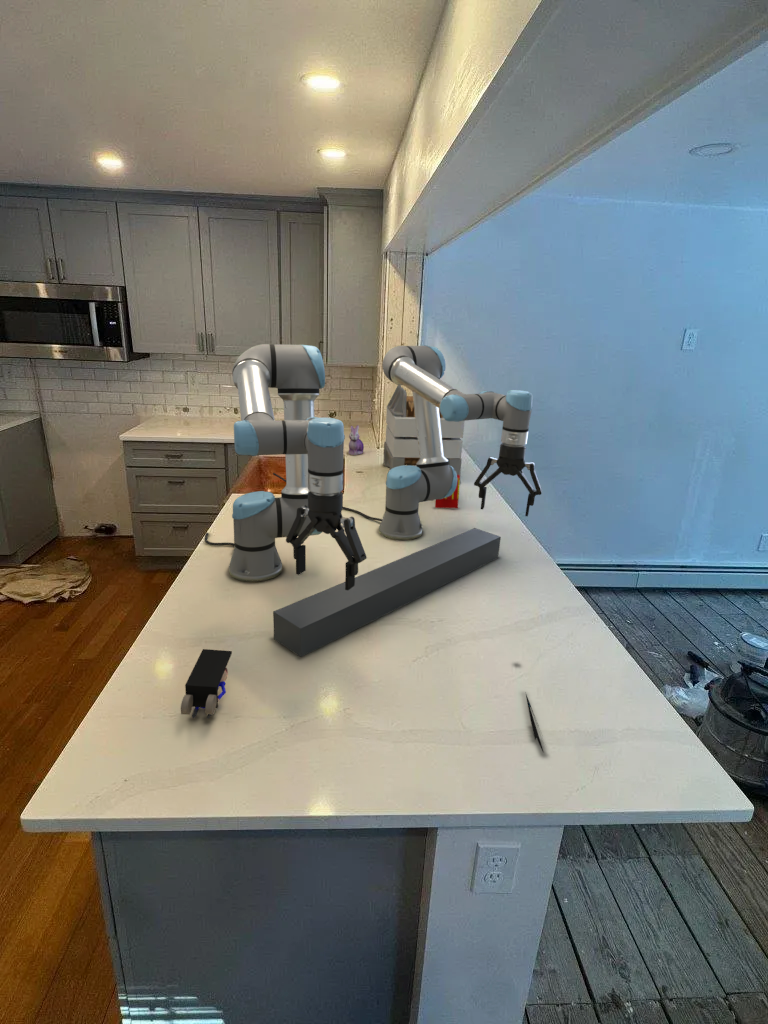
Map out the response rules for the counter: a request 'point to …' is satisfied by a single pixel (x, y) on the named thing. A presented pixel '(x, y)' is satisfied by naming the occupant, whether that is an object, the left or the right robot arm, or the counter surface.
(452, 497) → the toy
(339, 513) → the left robot arm
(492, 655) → the counter surface
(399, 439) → the grey slatted crate
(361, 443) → the figurine
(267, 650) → the counter surface
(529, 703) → the feather
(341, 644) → the counter surface
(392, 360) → the right robot arm
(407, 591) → the dark gray long bar
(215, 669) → the black toy cart
